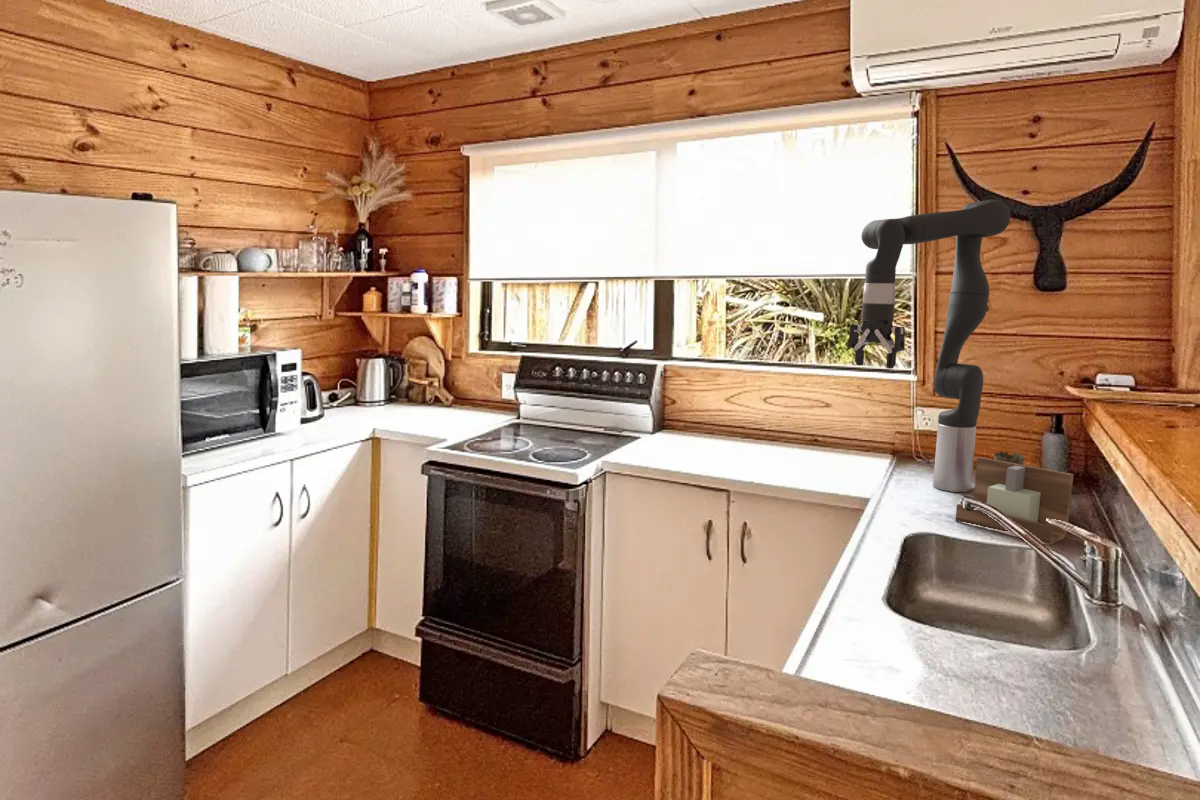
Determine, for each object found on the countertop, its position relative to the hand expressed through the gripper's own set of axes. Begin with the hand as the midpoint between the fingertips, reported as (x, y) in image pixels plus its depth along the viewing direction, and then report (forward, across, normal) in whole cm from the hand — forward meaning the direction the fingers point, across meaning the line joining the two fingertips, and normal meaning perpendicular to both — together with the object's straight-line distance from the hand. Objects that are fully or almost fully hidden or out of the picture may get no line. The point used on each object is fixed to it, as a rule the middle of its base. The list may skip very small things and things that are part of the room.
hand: (874, 366), depth 193 cm
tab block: (+32, -36, -2) cm, 48 cm away
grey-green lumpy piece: (+33, -16, -42) cm, 56 cm away
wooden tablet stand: (+33, -36, -1) cm, 49 cm away
